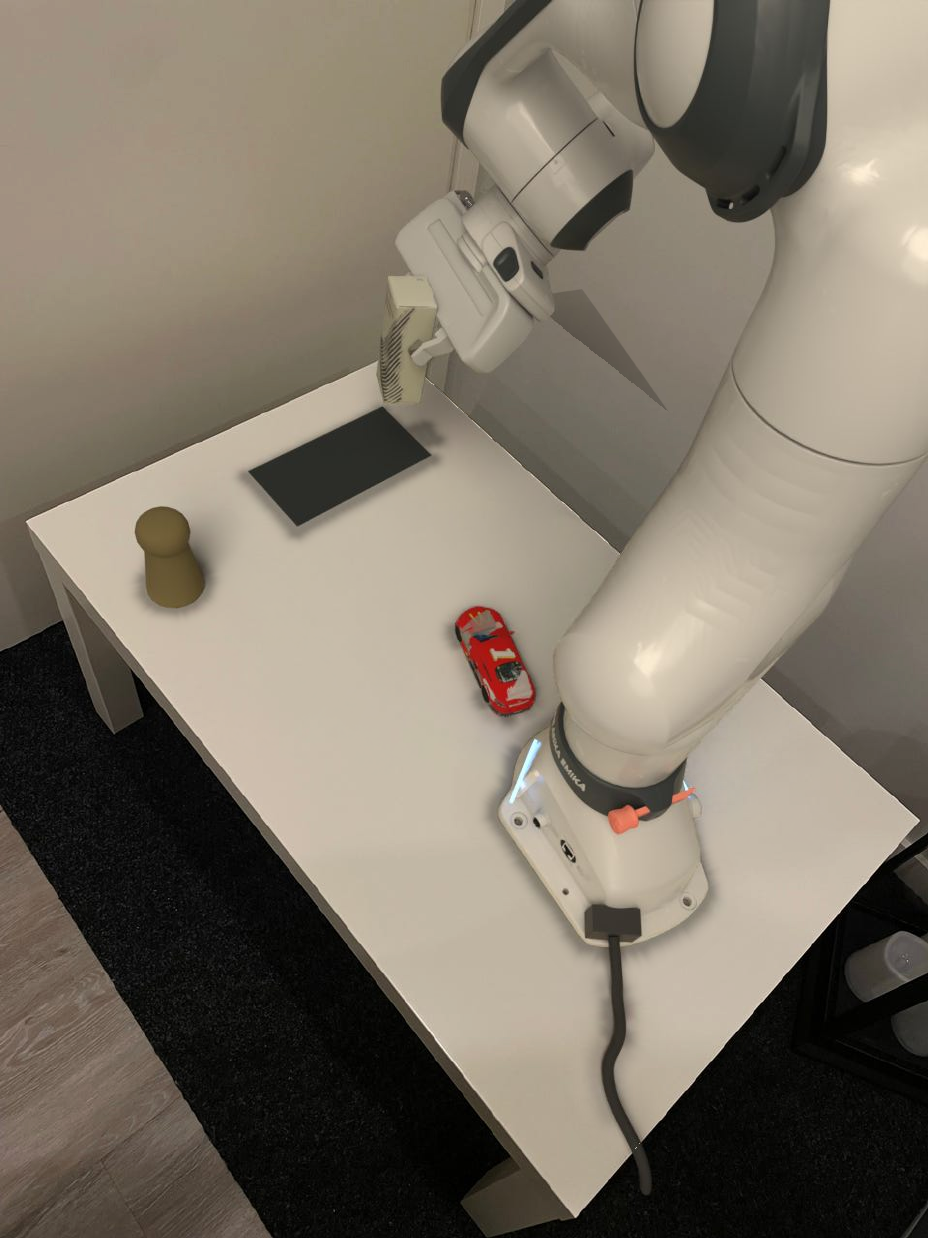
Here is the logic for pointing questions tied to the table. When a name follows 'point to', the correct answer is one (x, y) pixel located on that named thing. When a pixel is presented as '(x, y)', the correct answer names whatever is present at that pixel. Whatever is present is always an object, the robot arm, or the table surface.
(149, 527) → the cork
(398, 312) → the box
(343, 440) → the slate board
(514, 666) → the race car
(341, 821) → the table surface
